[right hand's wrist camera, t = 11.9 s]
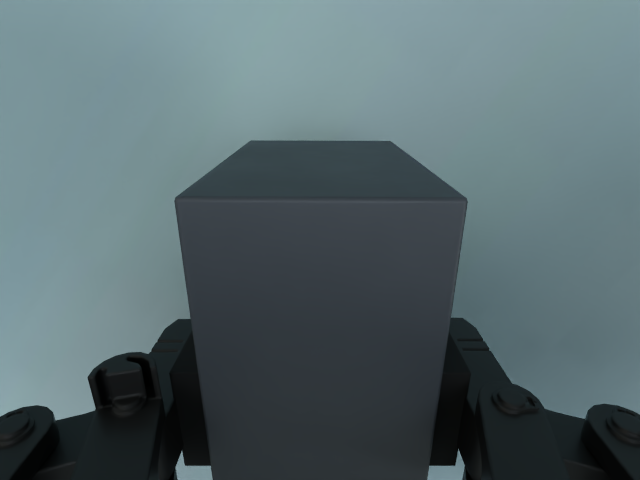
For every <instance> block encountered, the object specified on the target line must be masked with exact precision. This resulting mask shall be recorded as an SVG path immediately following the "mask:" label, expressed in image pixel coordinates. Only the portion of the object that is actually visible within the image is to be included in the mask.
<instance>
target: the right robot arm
mask: <svg viewBox="0 0 640 480" xmlns="http://www.w3.org/2000/svg"><path fill="white" fill-rule="evenodd" d="M88 381H89V385H90V388H91V392H92V396H93V400H94V403H95V407H96V410H95V411H93V412H89V413H86V414H82V415H78V416H74V417H70V418H65V419H61V420H57V421H55V417H54V414H53V412H52V411H51V410H50V409H49V408H47V407H44V406H37V405H36V406H29V407H22V408H20V409H17V410H14V411H11V412H8V413H6V414H5V415H3V416H1V417H0V480H177V474H176V469H175V467H176V464H177V461H178V459H179V456H180V454H181V451H183V457H184V462H185V466H211V462H210V455H209V448H208V440H207V433H206V426H205V419H204V411H203V404H202V397H201V390H200V382H199V375H198V368H197V360H196V353H195V346H194V339H193V331H192V324H191V319H178V320H176V321H175V322H174V323H172V324H171V325H170V326H168V327H167V328H166V329H165V330H164V331H163V333H162V334H161V336H160V337H159V339H158V342H157V343H156V344H155V345H154V347H153V348H152V351H151V352H150V353H149V354H145V353H142V352H132V353H125V354H121V355H117V356H114V357H112V358H110V359H108V360H106V361H104V362H102V363H101V364H100V365H98V366H97V367H96V368H94V369H93V371H92V372H91V373H90V375H89V376H88ZM458 448H459V451H460V454H461V456H462V459H463V461H464V464H465V469H464V474H463V479H462V480H640V415H639V414H637V413H636V412H634V411H631V410H629V409H626V408H623V407H620V406H616V405H609V404H600V405H594V406H593V407H592V408H590V409H589V410H588V412H587V415H586V418H585V419H582V418H577V417H573V416H569V415H565V414H560V413H556V412H553V411H550V410H546V409H544V407H543V406H542V404H541V402H540V401H539V399H538V398H536V397H535V396H534V395H533V394H532V393H531V392H529V391H528V390H526V389H524V388H522V387H520V386H518V385H515V384H512V383H511V381H510V380H509V378H508V377H507V375H506V374H505V372H504V371H503V369H502V368H501V366H500V365H499V363H498V362H497V360H496V358H495V357H494V355H493V354H492V352H491V351H489V348H488V346H487V345H486V343H485V342H484V341H483V339H482V337H481V335H480V334H479V332H478V331H477V329H476V328H475V327H474V326H472V325H471V324H470V323H468V322H467V321H466V320H464V319H463V318H451V319H450V326H449V333H448V340H447V346H446V353H445V360H444V367H443V374H442V381H441V388H440V394H439V401H438V408H437V415H436V422H435V429H434V436H433V443H432V449H431V456H430V463H429V466H455V464H456V458H457V452H458Z"/></svg>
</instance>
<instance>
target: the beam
mask: <svg viewBox="0 0 640 480" xmlns="http://www.w3.org/2000/svg"><path fill="white" fill-rule="evenodd" d="M175 208H176V215H177V222H178V230H179V237H180V244H181V251H182V259H183V266H184V273H185V281H186V288H187V295H188V302H189V310H190V317H191V324H192V331H193V339H194V346H195V353H196V360H197V368H198V375H199V382H200V390H201V397H202V404H203V411H204V419H205V426H206V433H207V440H208V448H209V455H210V462H211V470H212V477H213V480H427V477H428V470H429V463H430V456H431V449H432V443H433V436H434V429H435V422H436V415H437V408H438V401H439V394H440V388H441V381H442V374H443V367H444V360H445V353H446V346H447V340H448V333H449V326H450V319H451V312H452V305H453V298H454V292H455V285H456V278H457V271H458V264H459V257H460V250H461V243H462V237H463V230H464V223H465V216H466V209H467V198H465V197H464V196H463V195H461V194H460V193H459V192H458V191H456V190H455V189H454V188H452V187H451V186H450V185H448V184H447V183H446V182H444V181H443V180H442V179H440V178H439V177H438V176H436V175H435V174H434V173H432V172H431V171H430V170H428V169H427V168H426V167H424V166H423V165H422V164H420V163H419V162H418V161H416V160H415V159H414V158H412V157H411V156H410V155H408V154H407V153H406V152H404V151H403V150H402V149H400V148H399V147H398V146H396V145H395V144H394V143H392V142H391V141H250V142H248V143H247V144H246V145H244V146H243V147H242V148H240V149H239V150H238V151H236V152H235V153H234V154H232V155H231V156H230V157H228V158H227V159H226V160H224V161H223V162H222V163H220V164H219V165H218V166H217V167H215V168H214V169H213V170H211V171H210V172H209V173H207V174H206V175H205V176H203V177H202V178H201V179H199V180H198V181H197V182H195V183H194V184H193V185H191V186H190V187H189V188H187V189H186V190H185V191H183V192H182V193H181V194H180V195H178V196H177V197H176V198H175Z"/></svg>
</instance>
